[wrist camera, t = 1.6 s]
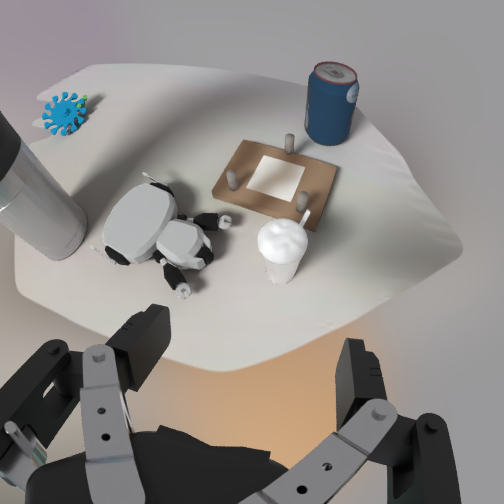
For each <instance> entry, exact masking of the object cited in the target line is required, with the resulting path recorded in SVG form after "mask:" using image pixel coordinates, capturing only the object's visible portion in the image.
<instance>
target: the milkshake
mask: <svg viewBox="0 0 504 504" xmlns="http://www.w3.org/2000/svg"><path fill="white" fill-rule="evenodd" d="M310 213H311V211H309V210H308V209H307V210H306V212H305V214H304V216H303V218H302V219H301V221H300V223H299V224H298V223H297V222H295V221H293V220H291V219H285V218H280V219H274V220H272V221H270V222H268V223H267V224H265V225H264V226H263V227H262V228H261V230H260V231H259V234H258V247H259V250H260V253H261V256H262V259H263V263H264V267H265V270H266V273H267V276H268V278H269V280H271V281H272V282H274V283H276V284H286V283H287V282H288V281H290V280H291V279H292V278H293V276H294V274H295V272H296V269H297V267H298V265H299V263H300V261H301V259H302V257H303V255H304V253H305V251H306V249H307V244H308V237H307V234H306V232H305V230H304V229H303V226H304V224H305V222H306V220H307V218H308V217H309V215H310Z"/></svg>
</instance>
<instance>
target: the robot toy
mask: <svg viewBox="0 0 504 504" xmlns="http://www.w3.org/2000/svg"><path fill="white" fill-rule="evenodd" d="M143 175H144V176H146V177H149V178H150V179H152V180H154V181H156V182H157V183H150V184H148V183H143V184H140V185H138V186H136V187H134V188H132V189H131V190H130V191H129V192H127V193H126V194H125V195H124V196H123V197H122V198H121V199H120V200H119V201H118V203H117V204H116V205H115V206H114V207H113V209H112V211H111V213H110V215H109V216H108V218H107V220H106V223H105V225H104V228H103V231H102V240H103V242H104V244H105V246H106V247H105V251H106V253H107V255H108V256H109V257H110V258H111V259H110V258H109V257H107V256H106V255H104V254H103V253H101V252H100V251H98V250H97V249H96V248H95V247H93V246H90V247H91V248H92V249H93V250H95V251H97V252H98V253H100V254H101V255H103V256H104V257H106V258H107V259H109V260H110V261H111V262H112V263H113V264H116V263H118V264H121V265H129V264H131V263H134V264H140V263H142V262H144V261H146V260H148V259H149V258H151V257H152V256H153V257H154V259H155V260H156V262H157V263H161V264H162V266H163V269H164V277H165V279H166V281H167V282H168V284H169V285H170V286H171V288H172V289H173V290H176V295H177V296H178V297H179V298H180V299H186V298H187V297H186V296H185V295H184V294H183V292H184V291H185V290H186V291H187V293H188V295H189V296H190V295H191V293H192V289H191V286H190V285H189V284H187V283H186V279H185V277H184V276H183V274H182V273H181V272H180V270H179V269H185V270H187V269H190V268H191V269H199V270H200V269H201V268H203V267H204V266H206V265H205V263H207V264H209V263H211V262H212V261H213V259H214V254H213V253H212V246H211V242H210V240H209V239H208V238H207V237H206V236H205V235H204V233H203V230H210V231H217V230H218V227H220V228H222V229H229V228H230V227H231V223H226V222H231V221H232V219H231V217H230V216H226V215H223V216H221V217H219V218H218V214H217V213H202V214H200V215H198V216H196V217H195V218H188V217H187V216H186V215H177V214H178V211H177V204H176V202H175V199H174V195H173V193H172V191H171V190H170V188H169V187H168V185H167V184H165V183H164V184H163V183H162V182H160V181H158V180H156V179H155V178H153V177H151V176H149V175H148V174H147V173H145V172H143ZM176 218H177V219H176ZM166 259H167V260H168V261H169V262H170V263H172V264H173V265H175V266H176V267H175V266H173V265H171V264H169V263H168V262H167V260H166ZM178 268H179V269H178Z"/></svg>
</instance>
